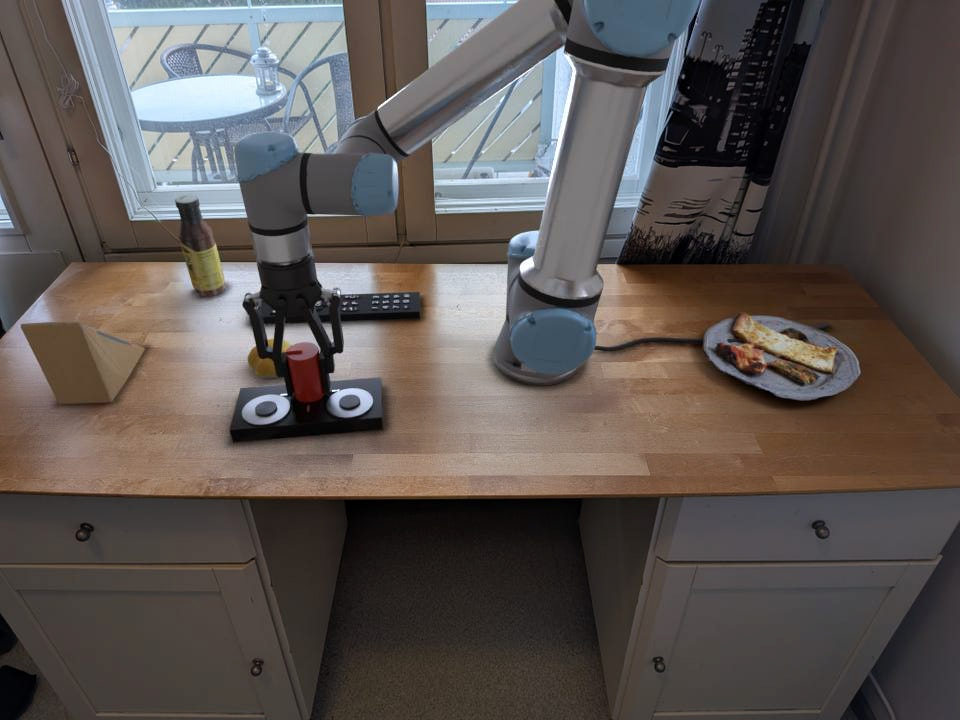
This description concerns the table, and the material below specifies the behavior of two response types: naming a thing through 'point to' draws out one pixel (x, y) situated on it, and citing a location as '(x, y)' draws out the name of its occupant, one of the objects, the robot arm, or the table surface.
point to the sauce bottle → (199, 248)
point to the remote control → (360, 308)
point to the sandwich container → (81, 360)
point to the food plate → (781, 356)
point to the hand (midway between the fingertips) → (309, 389)
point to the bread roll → (265, 362)
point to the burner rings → (278, 407)
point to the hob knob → (305, 372)
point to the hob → (308, 414)
